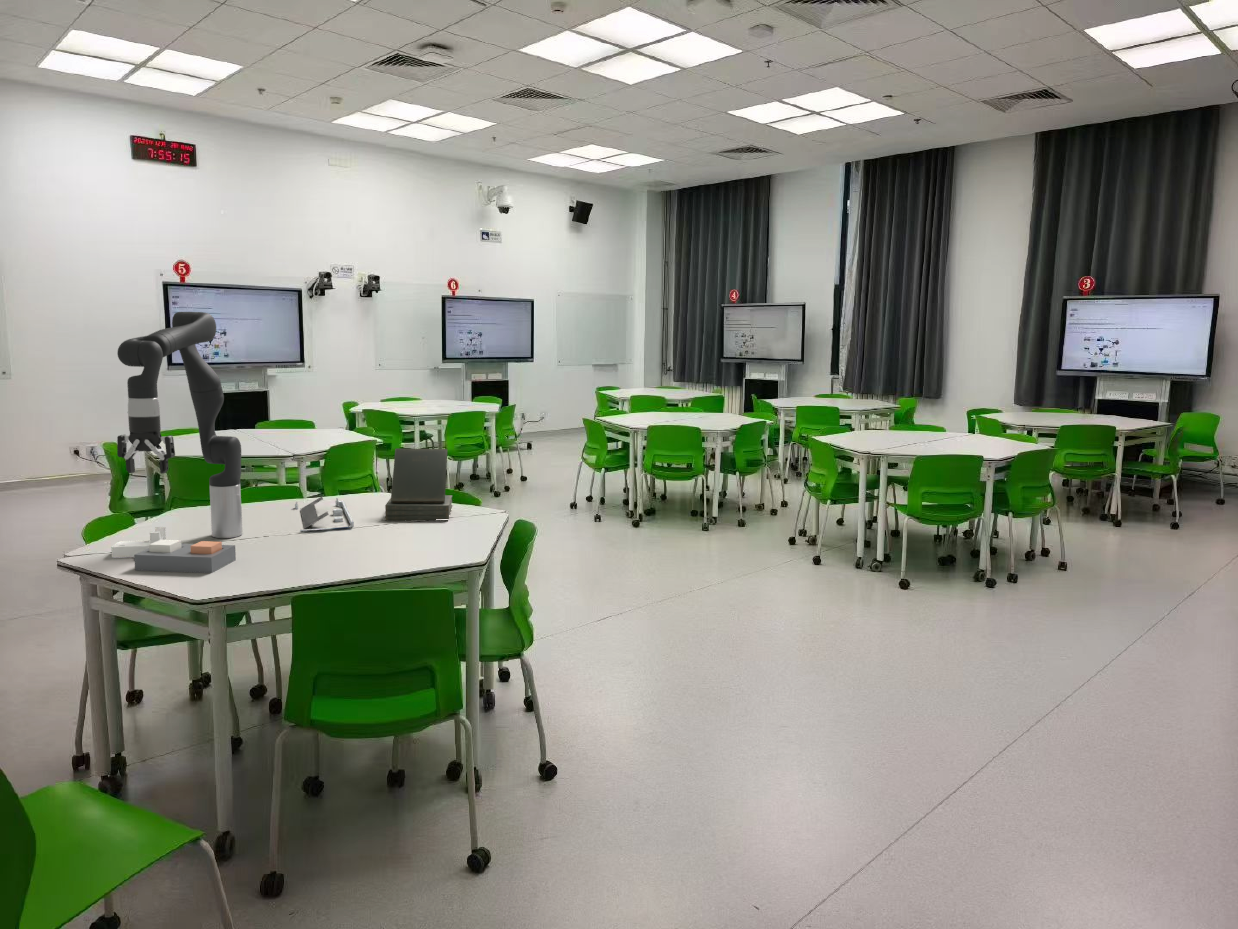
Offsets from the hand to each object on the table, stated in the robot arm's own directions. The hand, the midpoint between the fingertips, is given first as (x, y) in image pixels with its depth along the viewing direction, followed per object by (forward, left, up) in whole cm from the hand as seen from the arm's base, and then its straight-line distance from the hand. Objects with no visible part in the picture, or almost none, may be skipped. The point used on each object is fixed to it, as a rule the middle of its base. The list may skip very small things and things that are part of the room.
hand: (147, 472), depth 230 cm
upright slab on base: (-85, +53, -29) cm, 105 cm away
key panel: (-8, +5, -28) cm, 30 cm away
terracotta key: (-8, +11, -25) cm, 29 cm away
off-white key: (-8, -1, -25) cm, 27 cm away
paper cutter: (-74, +20, -29) cm, 82 cm away
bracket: (-18, -15, -29) cm, 37 cm away
